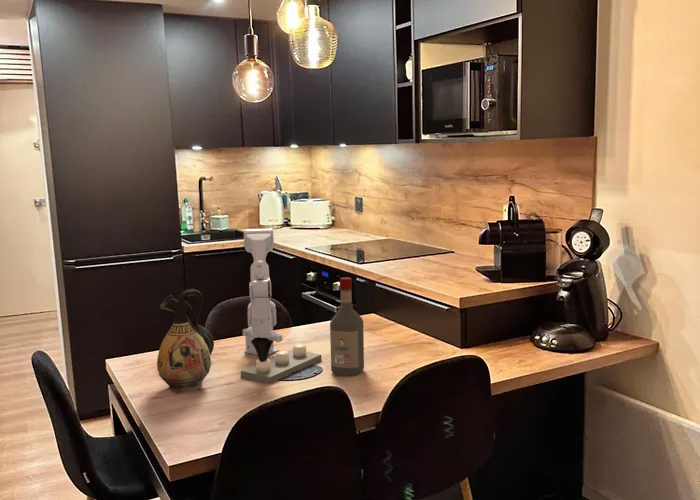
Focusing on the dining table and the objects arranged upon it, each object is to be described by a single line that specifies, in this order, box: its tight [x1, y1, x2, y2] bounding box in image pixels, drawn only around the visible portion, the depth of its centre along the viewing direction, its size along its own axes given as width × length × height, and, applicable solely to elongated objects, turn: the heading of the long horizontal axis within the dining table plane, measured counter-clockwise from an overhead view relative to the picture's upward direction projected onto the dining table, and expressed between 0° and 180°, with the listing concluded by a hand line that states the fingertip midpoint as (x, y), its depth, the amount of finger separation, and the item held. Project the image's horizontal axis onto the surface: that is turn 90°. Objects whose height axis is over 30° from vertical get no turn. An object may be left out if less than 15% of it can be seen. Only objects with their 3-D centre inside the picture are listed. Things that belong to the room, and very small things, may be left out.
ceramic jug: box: [156, 288, 212, 394], centre depth 192 cm, size 17×15×30 cm
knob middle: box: [274, 350, 289, 364], centre depth 210 cm, size 4×4×5 cm
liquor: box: [329, 276, 365, 378], centre depth 203 cm, size 9×9×30 cm
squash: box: [198, 323, 215, 356], centre depth 218 cm, size 14×15×15 cm
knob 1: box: [255, 358, 271, 372], centre depth 202 cm, size 4×4×5 cm
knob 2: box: [292, 343, 307, 357], centre depth 217 cm, size 4×4×5 cm
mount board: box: [240, 348, 322, 385], centre depth 210 cm, size 12×26×2 cm, turn 146°
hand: (263, 361), depth 202 cm, fingers closed, pressing on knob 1
